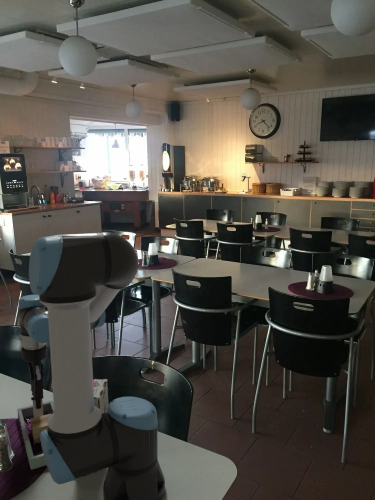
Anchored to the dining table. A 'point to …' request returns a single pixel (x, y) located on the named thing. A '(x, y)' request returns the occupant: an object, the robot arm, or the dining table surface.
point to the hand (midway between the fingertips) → (38, 416)
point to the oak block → (39, 426)
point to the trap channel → (27, 414)
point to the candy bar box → (100, 394)
